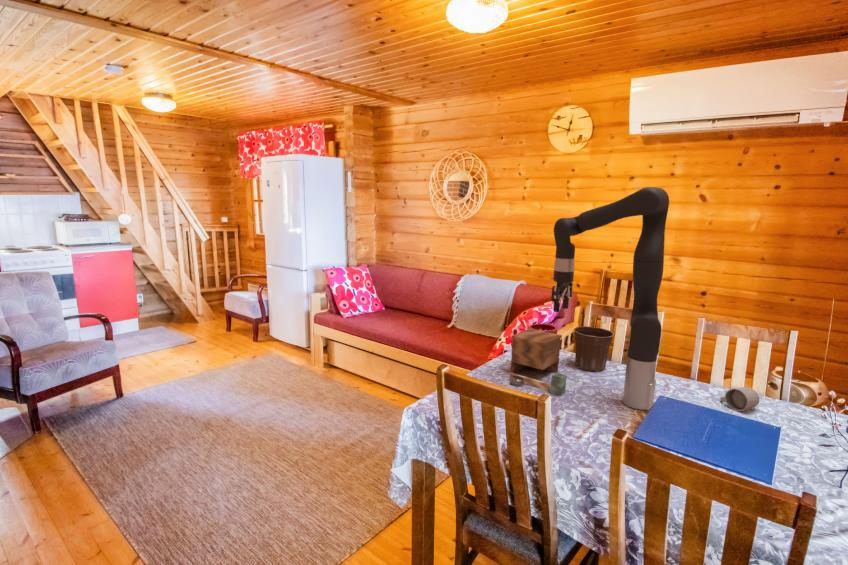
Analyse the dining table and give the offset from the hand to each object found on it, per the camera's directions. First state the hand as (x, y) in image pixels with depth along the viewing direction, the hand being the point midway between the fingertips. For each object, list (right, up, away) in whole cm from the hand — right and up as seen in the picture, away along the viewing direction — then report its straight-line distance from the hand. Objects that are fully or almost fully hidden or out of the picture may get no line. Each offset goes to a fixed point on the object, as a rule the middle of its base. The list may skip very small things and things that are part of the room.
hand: (560, 310), depth 177 cm
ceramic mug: (+56, -33, -19) cm, 68 cm away
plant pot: (+18, -26, +18) cm, 36 cm away
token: (-18, -29, -3) cm, 34 cm away
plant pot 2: (+2, -22, +39) cm, 45 cm away
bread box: (-8, -27, +10) cm, 30 cm away
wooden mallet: (-11, -29, -5) cm, 32 cm away
